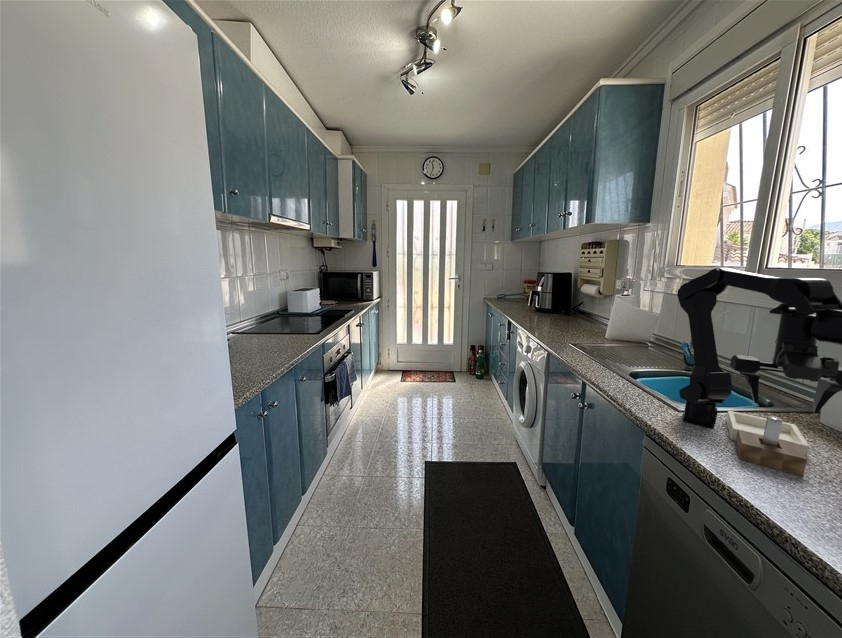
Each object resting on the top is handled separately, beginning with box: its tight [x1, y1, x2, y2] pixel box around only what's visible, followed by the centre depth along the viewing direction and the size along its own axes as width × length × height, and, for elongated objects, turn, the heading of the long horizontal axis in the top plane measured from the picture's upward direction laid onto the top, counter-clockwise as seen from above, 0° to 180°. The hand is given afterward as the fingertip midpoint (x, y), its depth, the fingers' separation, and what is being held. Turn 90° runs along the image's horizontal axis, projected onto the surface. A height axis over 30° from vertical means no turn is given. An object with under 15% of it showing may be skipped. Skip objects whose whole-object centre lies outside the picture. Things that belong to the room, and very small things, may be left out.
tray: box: [725, 410, 810, 459], centre depth 87 cm, size 13×13×3 cm
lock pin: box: [762, 415, 784, 448], centre depth 77 cm, size 2×2×10 cm
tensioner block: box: [734, 429, 808, 478], centre depth 77 cm, size 10×8×4 cm
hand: (784, 407), depth 75 cm, fingers open, 9 cm apart
